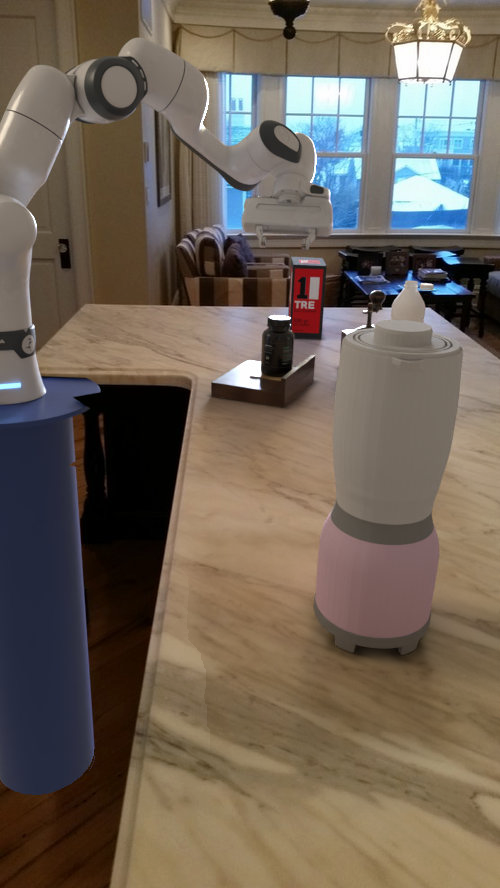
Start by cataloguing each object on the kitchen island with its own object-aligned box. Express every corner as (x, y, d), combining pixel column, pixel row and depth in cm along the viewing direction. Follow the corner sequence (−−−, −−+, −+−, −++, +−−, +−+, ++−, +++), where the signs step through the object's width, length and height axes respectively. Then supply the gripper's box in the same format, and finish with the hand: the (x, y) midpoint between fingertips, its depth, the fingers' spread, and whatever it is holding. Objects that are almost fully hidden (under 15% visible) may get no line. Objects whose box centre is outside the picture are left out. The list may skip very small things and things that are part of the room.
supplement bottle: (254, 371, 152) (256, 316, 147) (278, 367, 156) (281, 313, 151) (274, 379, 147) (276, 322, 142) (298, 374, 151) (302, 318, 146)
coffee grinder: (395, 380, 160) (404, 301, 154) (348, 380, 159) (355, 300, 152) (376, 362, 175) (384, 289, 168) (333, 362, 173) (339, 288, 167)
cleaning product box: (287, 325, 210) (291, 256, 203) (317, 326, 210) (322, 257, 203) (289, 338, 195) (293, 264, 188) (321, 339, 195) (326, 265, 188)
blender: (440, 662, 69) (492, 345, 58) (316, 657, 70) (343, 339, 58) (410, 575, 84) (447, 307, 72) (308, 571, 84) (328, 303, 72)
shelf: (211, 396, 145) (211, 368, 143) (247, 372, 163) (248, 346, 160) (284, 407, 140) (285, 378, 138) (313, 381, 157) (315, 355, 155)
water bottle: (374, 401, 145) (387, 278, 136) (398, 397, 148) (413, 277, 139) (402, 414, 138) (418, 286, 129) (427, 410, 141) (444, 284, 132)
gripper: (244, 185, 157) (234, 234, 152) (336, 189, 154) (329, 239, 149) (247, 205, 163) (238, 253, 157) (335, 209, 160) (329, 258, 154)
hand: (283, 247), depth 153 cm, fingers open, 8 cm apart
